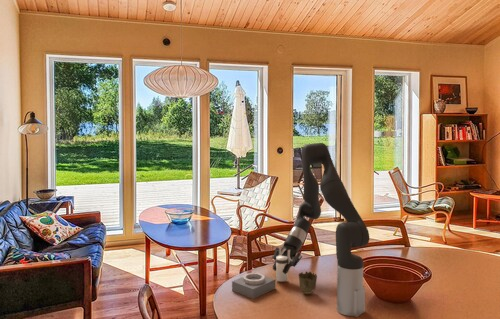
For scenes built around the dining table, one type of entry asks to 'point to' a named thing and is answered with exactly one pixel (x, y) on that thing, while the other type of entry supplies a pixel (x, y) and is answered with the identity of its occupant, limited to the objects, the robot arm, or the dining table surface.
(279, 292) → the dining table surface
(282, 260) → the domed cylinder with band
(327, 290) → the dining table surface
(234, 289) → the square base with ring
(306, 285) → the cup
